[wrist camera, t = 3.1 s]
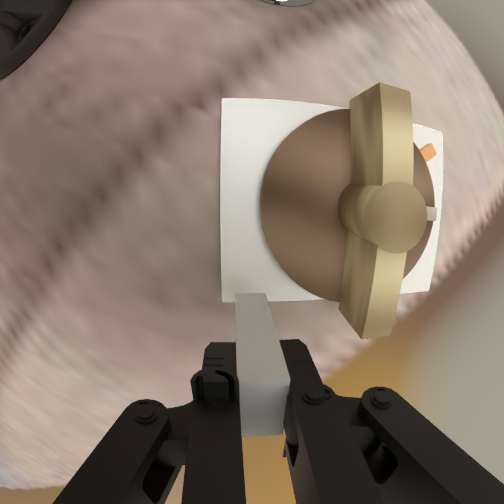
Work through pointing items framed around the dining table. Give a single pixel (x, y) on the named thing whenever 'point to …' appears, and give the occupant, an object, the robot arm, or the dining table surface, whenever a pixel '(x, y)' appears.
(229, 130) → the base plate
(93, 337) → the dining table surface
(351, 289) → the capstan dial
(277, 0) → the wine glass
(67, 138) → the dining table surface
